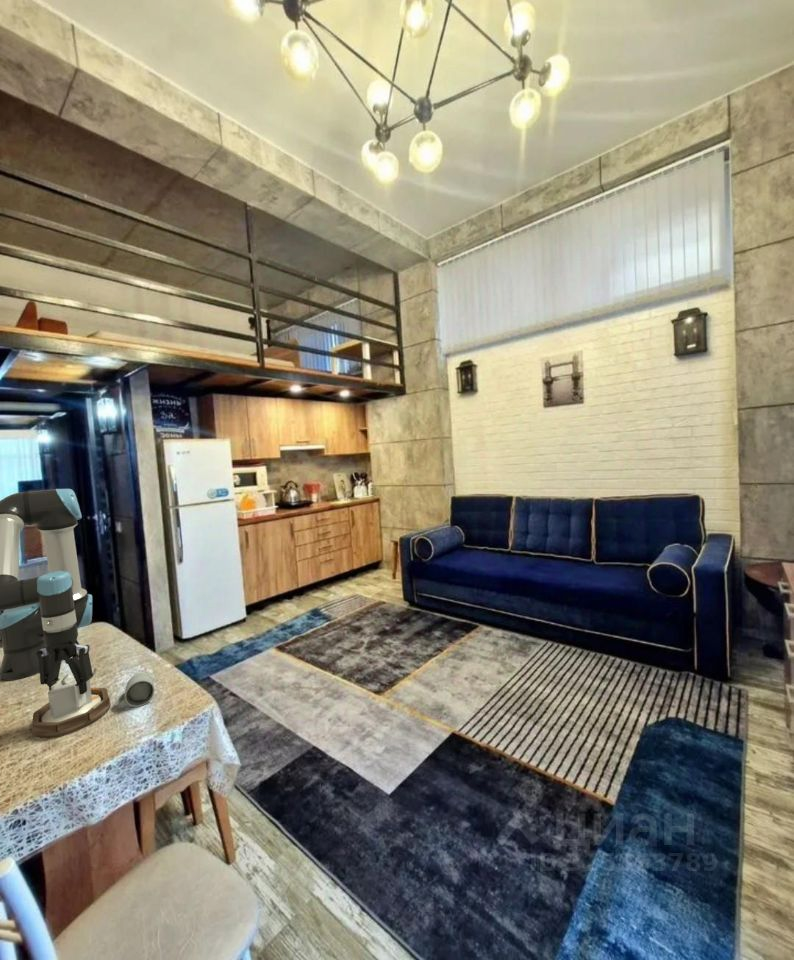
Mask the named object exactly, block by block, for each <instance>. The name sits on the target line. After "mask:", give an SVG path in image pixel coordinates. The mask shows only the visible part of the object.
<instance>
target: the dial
mask: <svg viewBox="0 0 794 960" xmlns="http://www.w3.org/2000/svg"><path fill="white" fill-rule="evenodd" d="M90 680H91V679H89V680H88V681H86V684H87V692H85V694H86V702H85V703H84V704H83V705H81V706H80V707H77V704H76V696H75V689H74V685H75V684H77V683H76V680H75V679H74V680H73V681H70V682H69V683H67V684H66V685H63V684H62V686H61V687H58V688H56V689H53V690H51V691H47V696H48V697H47V698H48V703H49V704H50V709H49V710H48V711H47V712H46V713H45V714H44V715H43V717H42V722H61V721H63V720H66V719H69V718H72V717H75V716H77V715H80V714H83V713H86V712H87V711H89V710H90V709H91V708H92V707H93V706H94V705H96V704H97V703H98V702H100V701H101V698H100V697H99V695H91V688H92V686H91V682H90Z"/></svg>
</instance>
